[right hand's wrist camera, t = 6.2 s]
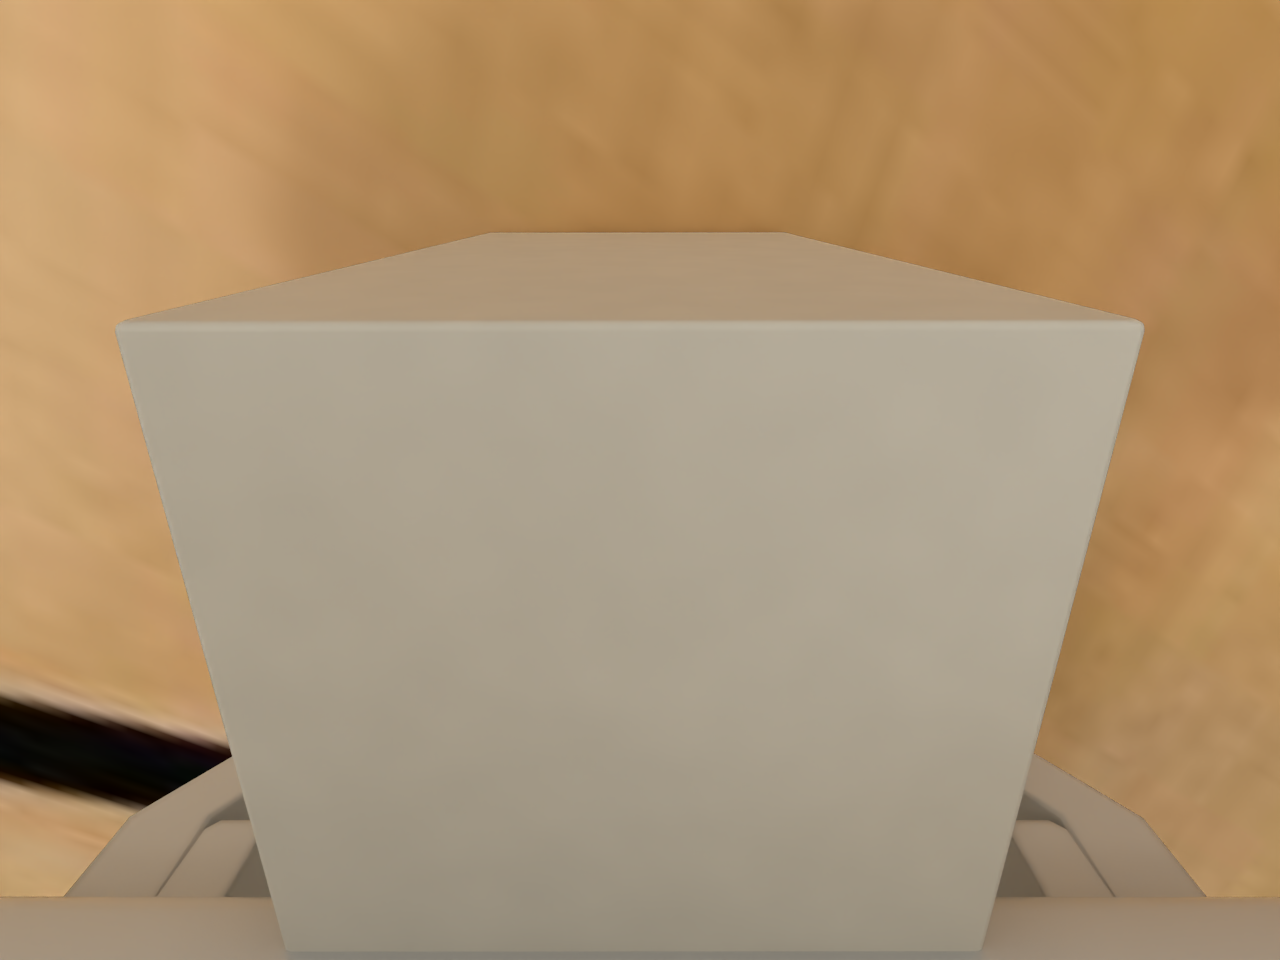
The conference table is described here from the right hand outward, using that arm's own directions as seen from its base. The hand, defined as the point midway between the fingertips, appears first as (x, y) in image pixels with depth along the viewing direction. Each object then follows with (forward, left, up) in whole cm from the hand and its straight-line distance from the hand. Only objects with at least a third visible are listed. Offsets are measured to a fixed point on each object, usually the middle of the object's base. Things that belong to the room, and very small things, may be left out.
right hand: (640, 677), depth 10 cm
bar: (+23, -5, -3) cm, 24 cm away
